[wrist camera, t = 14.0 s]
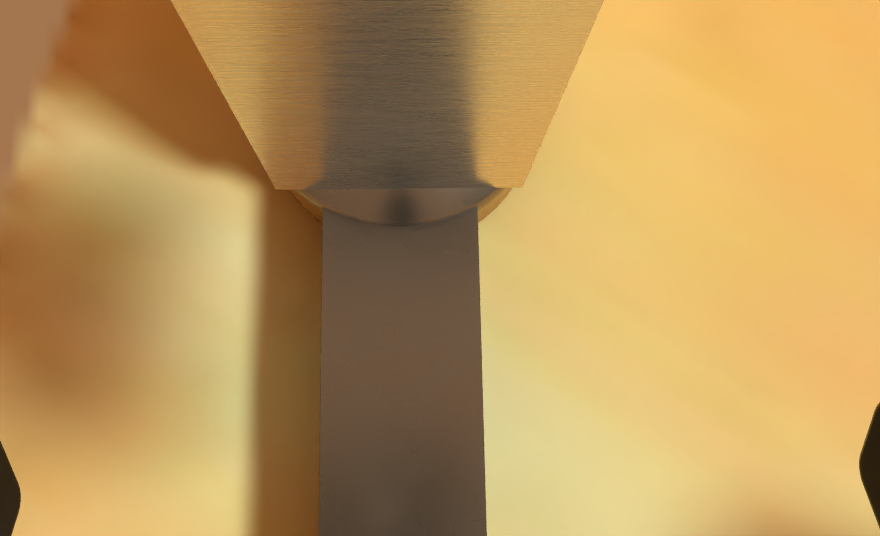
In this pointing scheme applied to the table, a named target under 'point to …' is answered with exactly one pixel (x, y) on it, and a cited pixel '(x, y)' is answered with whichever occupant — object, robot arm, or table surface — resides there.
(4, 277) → the table surface
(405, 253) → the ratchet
